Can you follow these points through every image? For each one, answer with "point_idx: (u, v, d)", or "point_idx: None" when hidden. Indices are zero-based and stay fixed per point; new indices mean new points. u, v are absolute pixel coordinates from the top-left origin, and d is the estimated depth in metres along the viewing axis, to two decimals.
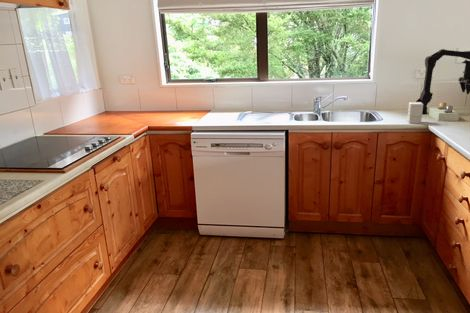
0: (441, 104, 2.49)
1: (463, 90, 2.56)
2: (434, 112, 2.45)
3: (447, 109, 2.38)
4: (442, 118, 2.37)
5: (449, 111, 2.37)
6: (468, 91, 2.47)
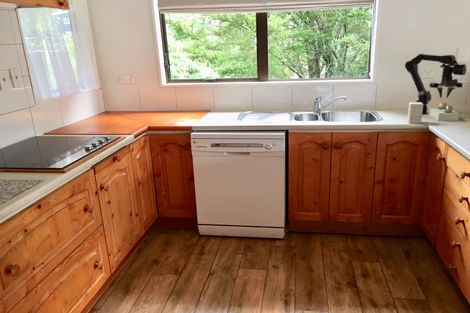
0: (441, 104, 2.49)
1: None
2: (434, 112, 2.45)
3: (447, 109, 2.38)
4: (442, 118, 2.37)
5: (449, 111, 2.37)
6: None
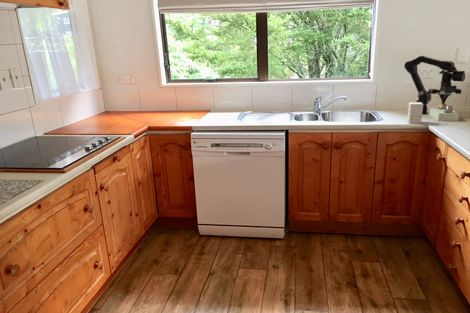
0: (441, 105, 2.49)
1: None
2: (434, 112, 2.45)
3: (447, 109, 2.38)
4: (442, 118, 2.37)
5: (449, 111, 2.37)
6: None
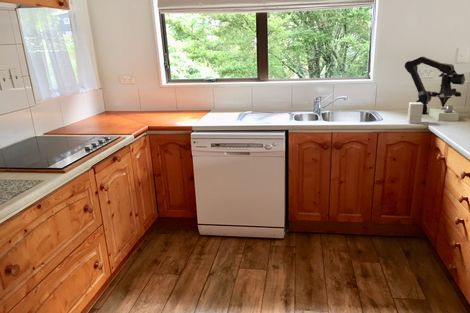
0: (440, 109, 2.50)
1: None
2: (434, 112, 2.45)
3: (447, 109, 2.38)
4: (442, 118, 2.37)
5: (449, 111, 2.37)
6: (441, 103, 2.50)
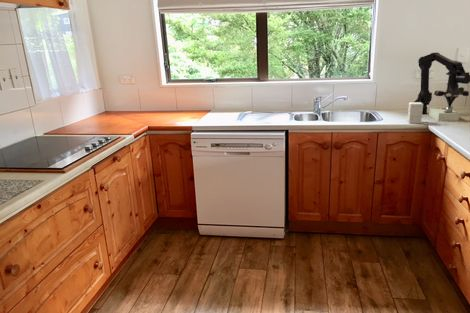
0: (440, 109, 2.50)
1: None
2: (434, 112, 2.45)
3: (447, 109, 2.38)
4: (442, 118, 2.37)
5: (449, 111, 2.37)
6: (448, 103, 2.38)
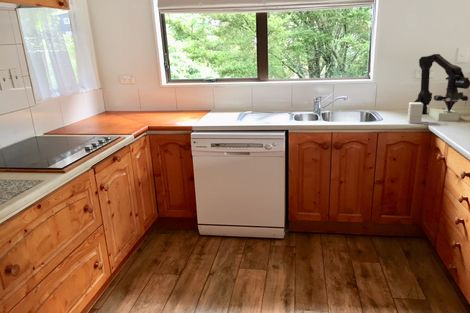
0: (440, 109, 2.50)
1: None
2: (434, 112, 2.45)
3: None
4: (442, 118, 2.37)
5: None
6: (447, 108, 2.39)
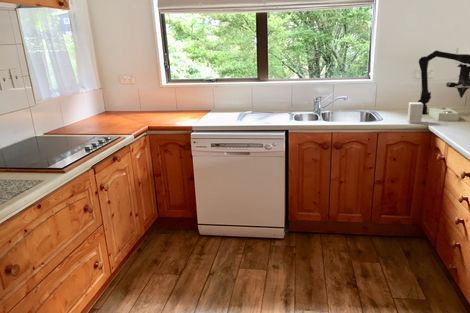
0: (440, 109, 2.50)
1: None
2: (434, 112, 2.45)
3: None
4: (442, 118, 2.37)
5: None
6: (459, 94, 2.47)
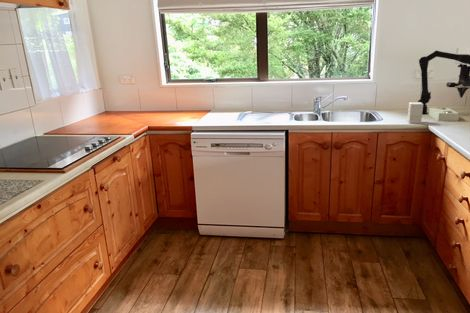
0: (440, 109, 2.50)
1: None
2: (434, 112, 2.45)
3: None
4: (442, 118, 2.37)
5: None
6: (459, 94, 2.47)
